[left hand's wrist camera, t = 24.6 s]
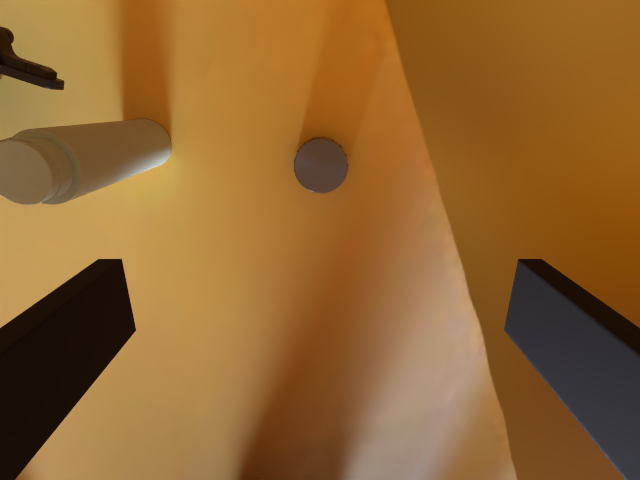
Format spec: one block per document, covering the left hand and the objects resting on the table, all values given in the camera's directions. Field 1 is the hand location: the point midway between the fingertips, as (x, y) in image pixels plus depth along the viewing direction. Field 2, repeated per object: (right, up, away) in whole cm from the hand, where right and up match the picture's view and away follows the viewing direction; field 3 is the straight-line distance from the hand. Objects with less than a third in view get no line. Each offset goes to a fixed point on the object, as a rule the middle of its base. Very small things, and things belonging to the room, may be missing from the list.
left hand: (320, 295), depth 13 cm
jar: (-18, +12, +25) cm, 33 cm away
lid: (0, +9, +24) cm, 26 cm away
